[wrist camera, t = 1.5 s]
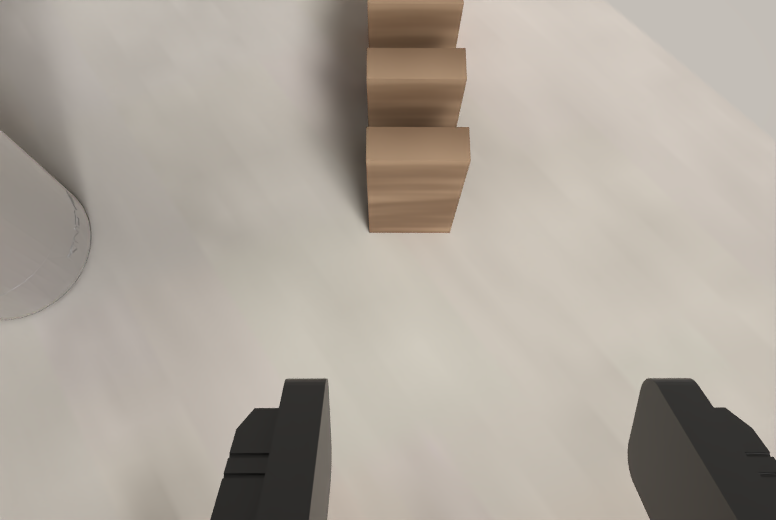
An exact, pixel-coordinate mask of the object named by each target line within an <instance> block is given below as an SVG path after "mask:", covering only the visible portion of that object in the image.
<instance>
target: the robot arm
mask: <svg viewBox="0 0 776 520" xmlns="http://www.w3.org/2000/svg"><path fill="white" fill-rule="evenodd" d="M90 241H91V231H90V225H89V220H88V217H87V215H86V213H85V210H84V208H83V206H82V205H81V204H80V202H79V201H78V200H77V198H76V197H75V196H74V195H73V194H72V193H71V192H69V191H68V190H67V189H66V188H65V187H64V186H63V185H62V184H60V183H59V182H58V181H57V180H56V179H55V178H54V177H53V176H51V175H50V174H49V173H48V172H47V171H46V170H45V169H44V168H43V167H42V166H41V165H39V164H38V163H37V162H36V161H35V160H34V159H33V158H32V157H30V156H29V155H28V154H27V153H26V152H25V151H24V150H23V149H21V148H20V147H19V146H18V145H17V144H16V143H15V142H14V141H12V140H11V139H10V138H9V137H8V136H7V135H6V134H5V133H3V132H2V131H1V130H0V320H9V319H15V318H22V317H25V316H28V315H31V314H33V313H36V312H39V311H41V310H42V309H44V308H46V307H48V306H49V305H51V304H53V303H54V302H55V301H57V300H58V299H59V298H60V297H61V296H62V295H64V294H65V293H66V292H67V291H68V290H69V289H70V287H71V286H72V285H73V284H74V282H75V281H76V280H77V279H78V277H79V275H80V273H81V271H82V270H83V268H84V266H85V264H86V261H87V257H88V254H89V250H90ZM628 465H629V470H630V474H631V478H632V480H633V483H634V485H635V487H636V489H637V492H638V494H639V496H640V498H641V501H642V503H643V505H644V507H645V509H646V512H647V514H648V516H649V518H650V520H776V460H775V458H774V457H770V452H769V450H768V449H767V448H766V446H765V445H764V444H763V442H762V441H761V439H760V438H759V437H758V435H757V434H756V433H755V431H754V430H753V429H752V428H751V427H750V426H749V425H747V424H746V423H745V422H743V421H742V420H741V419H739V418H738V417H737V416H735V415H734V414H733V413H731V412H730V411H729V410H728V409H726V408H714V407H713V406H712V405H711V403H710V402H709V400H708V399H707V397H706V396H705V394H704V393H703V391H702V390H701V389H700V387H699V386H698V384H697V383H696V382H695V381H694V380H693V379H690V378H648V379H646V380H645V381H644V382H643V384H642V387H641V390H640V395H639V399H638V403H637V408H636V412H635V417H634V421H633V426H632V430H631V434H630V439H629V444H628ZM330 481H331V427H330V407H329V387H328V379H286V380H285V383H284V387H283V392H282V396H281V401H280V406H279V408H254V410H253V411H252V412H251V413H250V414H249V415H248V417H247V418H246V419H245V420H244V421H243V422H242V423H241V425H240V426H239V427H238V428H237V429H236V433H235V436H234V440H233V443H232V447H231V450H230V457H229V458H228V461H227V464H226V467H225V471H224V478H223V479H222V481H221V485H220V488H219V492H218V495H217V499H216V502H215V506H214V509H213V513H212V516H211V520H327V514H328V503H329V492H330Z"/></svg>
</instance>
